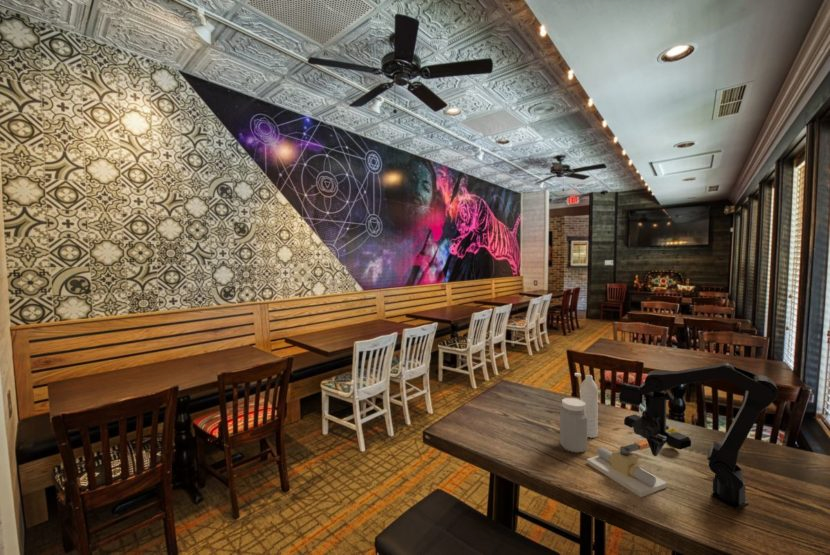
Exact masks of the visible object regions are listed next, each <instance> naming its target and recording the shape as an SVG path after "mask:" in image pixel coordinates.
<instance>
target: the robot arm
mask: <svg viewBox="0 0 830 555" xmlns="http://www.w3.org/2000/svg"><path fill="white" fill-rule="evenodd" d="M718 380H719V381H720V380H727V381H729V382H731V383H733V384H734V385H735V386H737V387H739V388H741V389H742V390H745V393H744V399H743V403H742V404H741V407H740V408H739V410H738V412H737V414H736V416H735V417H734V419H733V421H732V423H731V425H730V427H729V429H728V430H727V432H726V434H725V436H724V437H723V439H722V440H721V441H720V442H717V441H715V440H712V443H711V446H710V448H708V449H707V453H706V454H707V457H706V459H707V461H708V468H709V469H710V470H711V472H712V473H714V477H713V478H712V491H713V492H711V494H710V495H711V497H712V498H714V499H717V500H718V501H720V502H722V503H724V504H726V505H728V506H729V507H732V508H734V509H739V508H741V507H744V506H745V505H748V504H749V500H747V499H746V487H747V486H746V482H744V473H743V469H742V468H741V467H740V466H739V465H738V464H737V463H738V462H737V460H738V456H739V451H740V450H741V448H742V446H743V444H744V442H745V441H746V439H747V438H748V436H749V434H750V431H751V430H752V428H753V426H754V425H755V423H756V421H757V419H758V418H759V416H760V414H761V413H762V412H763V411H764V410H766V409H767V408H768V407H769V406H771V405H772V404H773V402H774V401H775V400H777V398H778V397H779V389H778V388H777V385H776V383H775V382H774V380H773V379H772V378H771V377H768V376H766V375H763V374H755V373H753V372H751V371H749V370H746V369H743V368H740V367H738V366H735V365H733V364H731V363H729V362H721V363H717V364H713V365H712V364H711V365H708V366H707V365H706V366H700V367H694V368H688V369H686V368H685V369H681V370H667V369H666V370H665V369H661V370H660V369H657V370H656V369H655V370H651V371H650V372H648V373H647V375H646V376H645V379H644V382H642V383H641V384H640V385H635V384H634V385H633V384H629V383H626V382H622V383H621V386H620V392H619V394H618V397H619V398H618V400H619V403H621V404H627V405H630V406H635V407H640V406H641V405H644V402H645V410H643V411H642V413H641V414H642V415H641V416H640V415H637V414H631V415H627V416H625V417H624V418H623V424H624V426H627V427H628V428H632V430H633V433H634V434H635V435H638V436H640V437H642V438H644V439H645V440H646V441H648V444H649V446H650V447H649V449H650V451H651V454H652V456H654V457H657V456H658V455H659V453H660V452H661V450H662V448H664V446H665V445H666V442H667V443H668V445H670V446H672V447H674V448H676V450H683V449H686V448H689V447H691V446H692V439H691V438H690V437H689V436H688V435H685V434H683V433H680V432H679V431H678V432H679V433H678V432H676V433H672V434H671V433H670V432H667V431H666V430H668V429H670V428H669V425H668V424H667V418H670V413H667V401H669V402H672V401H674V398H675V396H674V395H673V394H672V393H670V391H669V390H670V389H672V388H675V387H678V386H681V385H689V384H696V383H704V382H710V381H718ZM668 445H667V446H668Z"/></svg>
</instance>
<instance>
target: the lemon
mask: <svg viewBox="0 0 830 555" xmlns="http://www.w3.org/2000/svg"><path fill="white" fill-rule="evenodd" d="M666 431H667V432H670V433H671V434H672V433H676V432H678V433H680V432H679V431H678V430H677V429H675V428H673V427H672V428H669V429H668V430H666ZM665 445H666V446H668V447H669V448H671V450H675V449H676V448H674V447H672V446H670V445H668V443H667V442H666V443H665ZM676 450H677V449H676Z"/></svg>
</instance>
